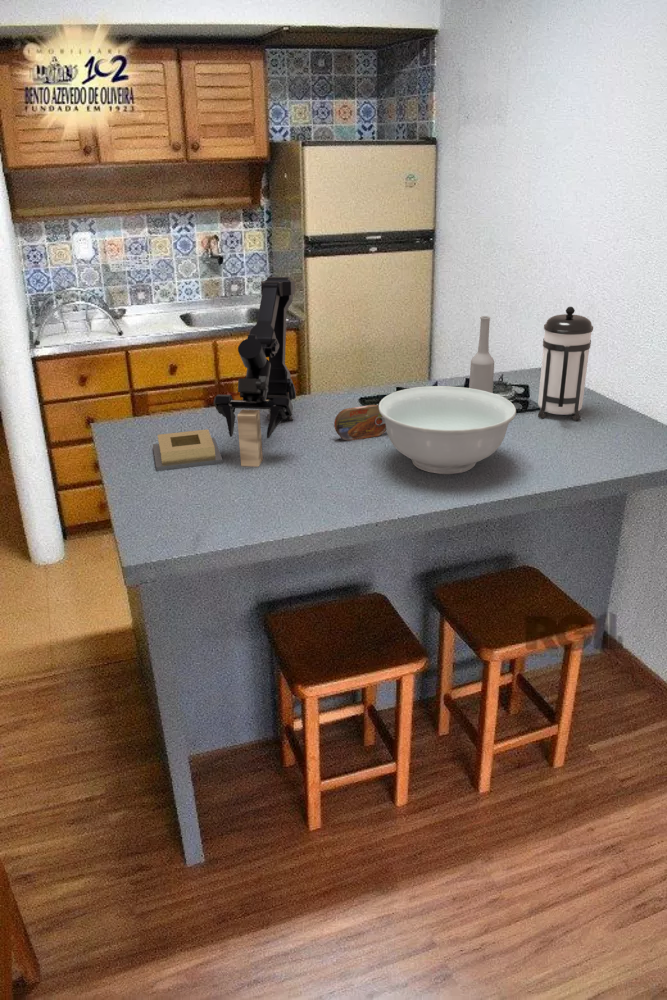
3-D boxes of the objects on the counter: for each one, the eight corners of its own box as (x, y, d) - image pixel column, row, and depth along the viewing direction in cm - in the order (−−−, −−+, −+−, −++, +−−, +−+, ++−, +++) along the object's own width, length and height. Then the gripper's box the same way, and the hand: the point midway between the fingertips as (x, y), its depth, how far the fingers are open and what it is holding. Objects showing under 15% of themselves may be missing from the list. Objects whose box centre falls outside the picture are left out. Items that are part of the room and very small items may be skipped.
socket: (153, 447, 202) (151, 433, 200) (214, 441, 206) (213, 426, 204) (156, 470, 188) (154, 455, 186) (222, 463, 192) (221, 448, 190)
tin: (337, 442, 203) (336, 412, 199) (333, 438, 206) (332, 408, 202) (390, 435, 207) (390, 405, 204) (385, 431, 210) (386, 401, 206)
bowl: (540, 470, 184) (546, 411, 178) (429, 501, 170) (431, 438, 163) (456, 430, 209) (458, 377, 203) (353, 454, 195) (352, 398, 189)
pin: (245, 459, 194) (241, 409, 188) (262, 459, 193) (259, 409, 188) (241, 465, 190) (237, 415, 184) (258, 466, 189) (255, 415, 184)
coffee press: (518, 410, 223) (527, 305, 210) (562, 402, 229) (573, 299, 216) (557, 429, 208) (570, 316, 196) (604, 419, 214) (619, 310, 202)
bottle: (465, 419, 217) (471, 318, 205) (469, 412, 223) (474, 313, 211) (489, 421, 215) (496, 320, 203) (492, 413, 221) (499, 314, 209)
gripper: (212, 362, 187) (202, 421, 182) (288, 363, 184) (280, 423, 179) (223, 384, 197) (215, 440, 192) (296, 386, 194) (289, 443, 189)
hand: (249, 436), depth 188 cm, fingers open, 9 cm apart
